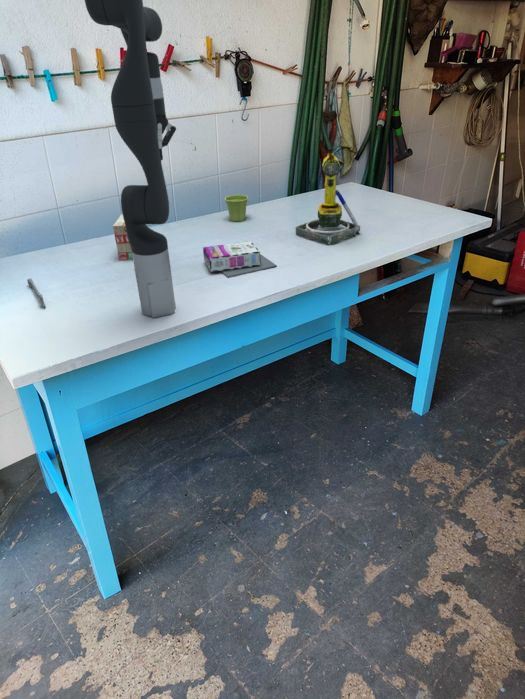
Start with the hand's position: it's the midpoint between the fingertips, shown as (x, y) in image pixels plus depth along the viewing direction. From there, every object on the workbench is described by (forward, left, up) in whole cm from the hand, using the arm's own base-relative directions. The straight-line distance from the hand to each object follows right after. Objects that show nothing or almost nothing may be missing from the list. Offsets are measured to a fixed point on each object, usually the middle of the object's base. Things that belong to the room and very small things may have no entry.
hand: (158, 162), depth 152 cm
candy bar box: (-7, -9, -30) cm, 32 cm away
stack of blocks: (+23, +6, -33) cm, 41 cm away
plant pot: (+34, -39, -33) cm, 62 cm away
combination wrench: (-1, +41, -33) cm, 53 cm away
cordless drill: (-1, -59, -33) cm, 68 cm away
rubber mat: (-8, -21, -33) cm, 39 cm away
